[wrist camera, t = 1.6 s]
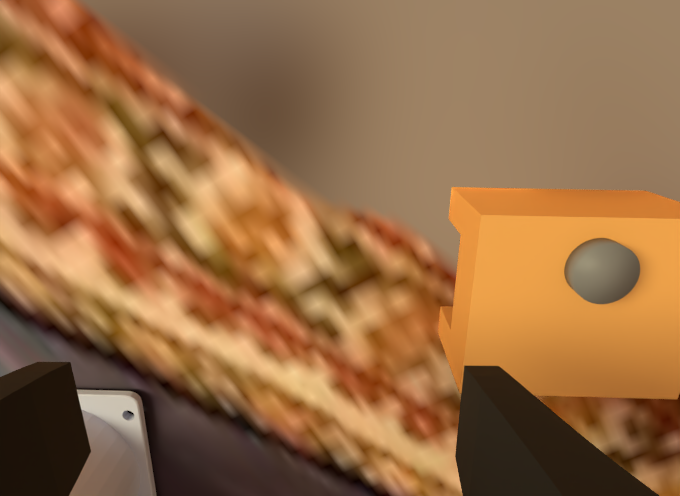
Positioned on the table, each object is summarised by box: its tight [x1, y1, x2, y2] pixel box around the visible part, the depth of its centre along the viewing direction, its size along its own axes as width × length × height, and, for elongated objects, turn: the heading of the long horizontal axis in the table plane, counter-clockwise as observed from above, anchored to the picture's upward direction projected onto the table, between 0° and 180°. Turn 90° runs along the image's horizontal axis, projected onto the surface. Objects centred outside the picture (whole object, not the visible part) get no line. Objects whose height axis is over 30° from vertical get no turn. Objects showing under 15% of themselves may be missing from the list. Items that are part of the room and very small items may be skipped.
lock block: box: [438, 187, 680, 399], centre depth 15 cm, size 6×7×5 cm
